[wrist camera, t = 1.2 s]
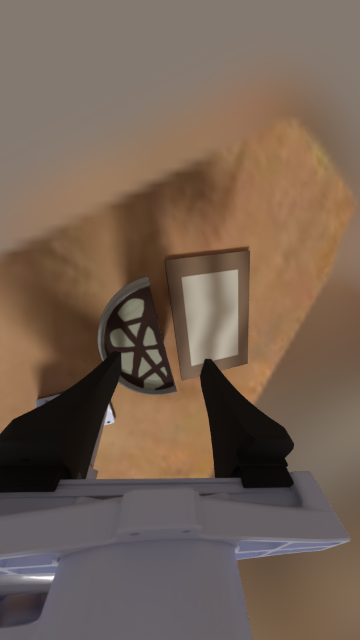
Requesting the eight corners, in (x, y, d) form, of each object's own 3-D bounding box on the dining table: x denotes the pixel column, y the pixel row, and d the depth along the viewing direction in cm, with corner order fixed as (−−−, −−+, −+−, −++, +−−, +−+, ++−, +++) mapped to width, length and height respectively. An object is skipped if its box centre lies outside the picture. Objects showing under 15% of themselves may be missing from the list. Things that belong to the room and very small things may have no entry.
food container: (100, 284, 21) (65, 293, 11) (146, 275, 22) (148, 276, 12) (127, 361, 25) (118, 416, 15) (165, 351, 26) (178, 395, 16)
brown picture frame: (181, 378, 28) (182, 380, 27) (164, 260, 22) (165, 260, 21) (245, 361, 30) (247, 363, 30) (247, 251, 24) (250, 250, 23)
